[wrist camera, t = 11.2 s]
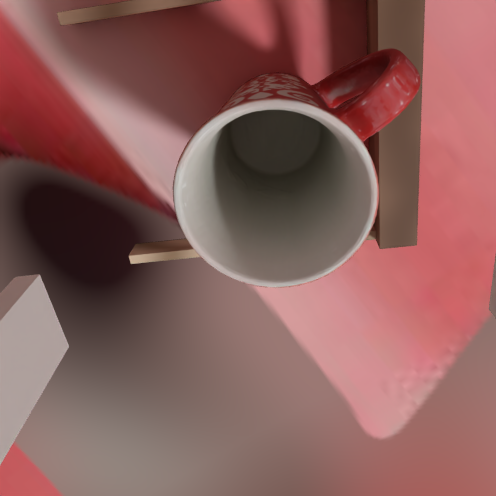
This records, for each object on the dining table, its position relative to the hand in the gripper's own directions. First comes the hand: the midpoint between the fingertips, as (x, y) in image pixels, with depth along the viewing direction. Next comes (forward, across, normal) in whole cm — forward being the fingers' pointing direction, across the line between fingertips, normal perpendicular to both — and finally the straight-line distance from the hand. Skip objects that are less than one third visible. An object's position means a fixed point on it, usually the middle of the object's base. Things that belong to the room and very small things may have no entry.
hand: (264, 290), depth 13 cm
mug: (+21, +2, 0) cm, 21 cm away
